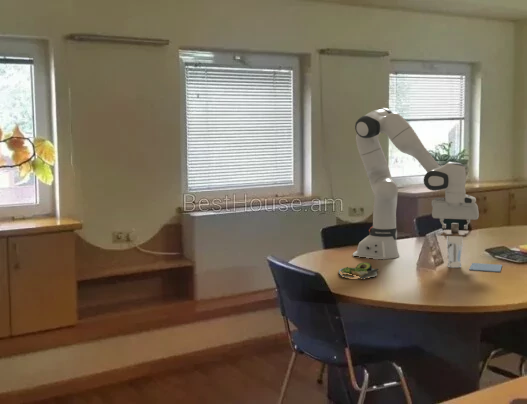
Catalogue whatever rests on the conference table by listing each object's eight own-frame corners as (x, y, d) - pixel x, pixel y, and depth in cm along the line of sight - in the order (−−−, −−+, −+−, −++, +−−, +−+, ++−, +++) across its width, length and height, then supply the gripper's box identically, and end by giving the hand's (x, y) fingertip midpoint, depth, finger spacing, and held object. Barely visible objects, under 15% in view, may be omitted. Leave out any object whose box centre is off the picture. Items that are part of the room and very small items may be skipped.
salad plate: (381, 282, 281) (381, 271, 281) (339, 282, 283) (339, 271, 282) (378, 271, 300) (378, 261, 300) (338, 271, 302) (338, 261, 301)
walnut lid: (440, 235, 300) (440, 225, 299) (444, 231, 310) (444, 221, 309) (466, 236, 295) (466, 226, 295) (468, 232, 305) (469, 222, 305)
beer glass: (463, 268, 300) (463, 235, 298) (447, 268, 302) (447, 235, 300) (461, 265, 307) (462, 232, 305) (446, 264, 308) (446, 232, 307)
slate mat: (469, 270, 297) (469, 269, 297) (472, 264, 309) (472, 262, 308) (500, 272, 292) (500, 271, 292) (502, 265, 303) (502, 264, 303)
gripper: (430, 198, 302) (430, 228, 303) (478, 199, 294) (477, 230, 295) (432, 196, 307) (432, 226, 309) (479, 198, 299) (478, 228, 301)
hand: (454, 228), depth 302 cm, fingers open, 8 cm apart
